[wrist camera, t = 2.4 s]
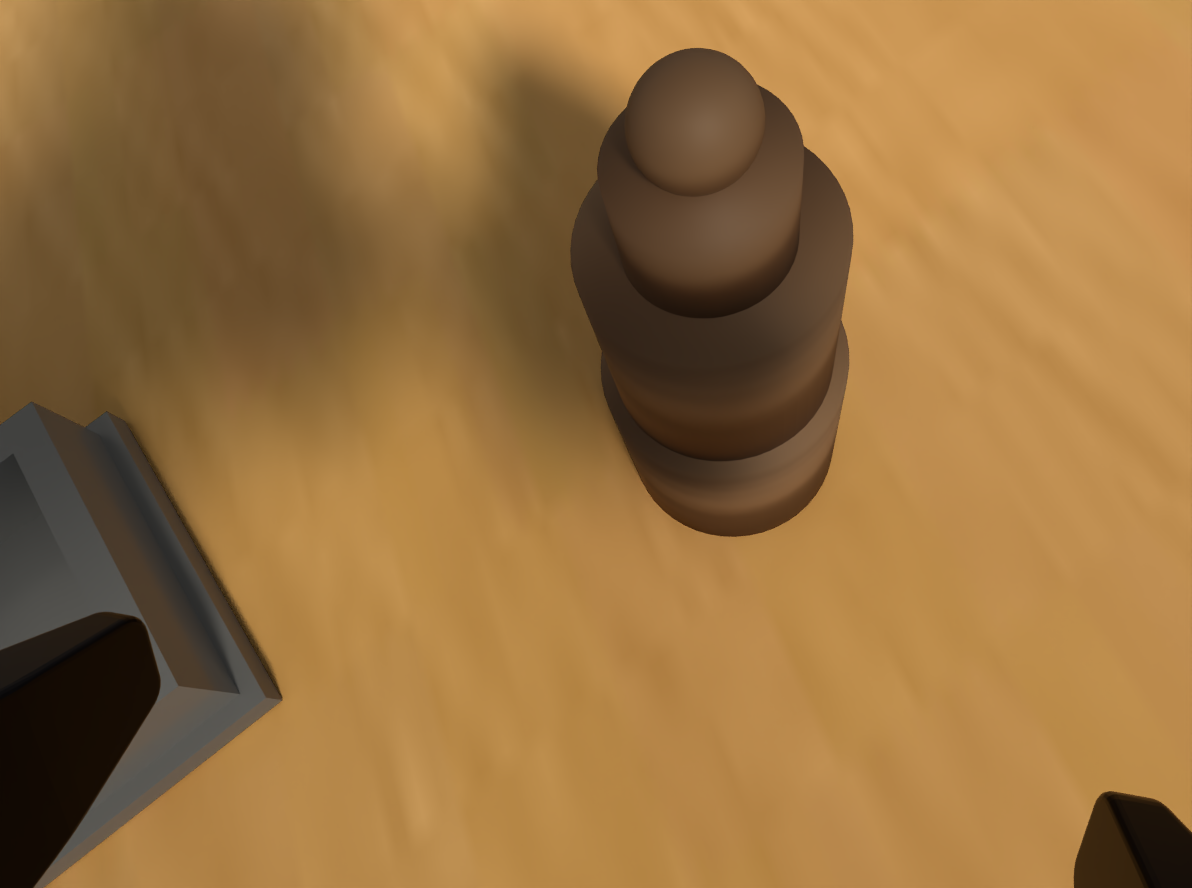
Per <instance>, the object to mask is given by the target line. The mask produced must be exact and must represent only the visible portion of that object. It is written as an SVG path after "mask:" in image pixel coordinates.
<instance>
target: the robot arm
mask: <svg viewBox="0 0 1192 888" xmlns="http://www.w3.org/2000/svg"><path fill="white" fill-rule="evenodd" d="M160 687H161V678H160V673H159V670H158V666H157V662H156V659H155V655H154V652H153V648H152V645H151V641H150V637H149V634H148V630H147V628H146V625H145V624H144V623H143V622H142V620H141V619H139V618H137V617H135V616H131V615H125V614H119V613H114V612H98V613H95V614H92V615H89V616H87V617H84V618H82V619H79V620H76V621H74V622H71V623H69V624H66V625H63V626H61V627H58V628H56V629H53V630H51V631H48V632H45V633H43V634H40V635H38V636H35V637H32V638H30V639H27V640H25V641H22V642H19V643H17V644H14V645H12V646H9V647H7V648H4V649H1V650H0V888H34V887H35V886H36V884H37V883H38V882H39V880H40V879H41V878H42V876H43V875H44V874H45V872H46V871H47V870H48V868H49V867H50V866H51V864H52V863H53V862H54V860H55V859H56V858H57V856H58V855H59V853H60V852H61V851H62V849H63V848H64V846H65V845H66V844H67V842H68V841H69V840H70V838H71V837H72V835H73V834H74V832H75V831H76V829H77V828H78V826H79V825H80V823H81V822H82V820H83V818H84V817H85V815H86V814H87V812H88V811H89V809H90V807H91V806H92V804H93V803H94V801H95V799H96V798H97V796H98V795H99V793H100V791H101V790H102V788H103V787H104V785H105V783H106V782H107V780H108V779H109V777H110V775H111V774H112V772H113V771H114V769H115V767H116V766H117V764H118V763H119V761H120V759H121V758H122V756H123V754H124V753H125V751H126V750H127V748H128V746H129V745H130V743H131V742H132V740H133V738H134V737H135V735H136V734H137V732H138V730H139V729H140V727H141V726H142V724H143V722H144V721H145V719H146V718H147V716H148V714H149V713H150V711H151V710H152V708H153V706H154V705H155V703H156V701H157V698H158V696H159V692H160ZM1074 888H1192V832H1191V831H1190V830H1189V829H1188V828H1187V827H1186V826H1185V825H1184V824H1183V823H1182V822H1181V821H1180V820H1179V819H1178V818H1177V817H1176V816H1175V815H1174V813H1173V812H1172V811H1171V810H1170V809H1169V808H1167V807H1166V806H1165V805H1164V804H1162V803H1161V802H1159V801H1157V800H1155V799H1152V798H1147V797H1141V796H1135V795H1130V794H1124V793H1119V792H1113V791H1109V792H1104V793H1102V794H1101V795H1100V796H1099V797H1098V799H1097V800H1096V803H1095V805H1094V808H1093V811H1092V814H1091V817H1090V819H1089V822H1088V825H1087V828H1086V831H1085V834H1084V837H1083V840H1082V843H1081V846H1080V849H1079V852H1078V855H1077V858H1076V862H1075V868H1074Z"/></svg>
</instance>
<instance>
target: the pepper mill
mask: <svg viewBox="0 0 1192 888" xmlns="http://www.w3.org/2000/svg"><path fill="white" fill-rule="evenodd" d="M597 173H598V180H597V181H596V183H595V184H594V185H593V187H592V188H591V189H590V191H589V192H588V194H587V196H586V198H585V200H584V202H583V203H582V205H581V208H580V210H579V213H578V215H577V218H576V221H575V225H574V229H573V233H572V240H571V267H572V272H573V277H574V282H575V285H576V287H577V290H578V293H579V295H580V298H581V300H582V303H583V305H584V308H585V310H586V313H587V315H588V318H589V320H590V323H591V325H592V327H593V330H594V332H595V335H596V337H597V340H598V342H599V345H600V347H601V350H602V359H601V376H602V385H603V389H604V394H605V397H606V400H607V403H608V406H609V408H610V411H611V413H612V415H613V417H614V420H615V422H616V424H617V426H618V429H619V431H620V433H621V435H622V437H623V440H624V442H625V444H626V446H627V449H628V451H629V453H630V455H631V457H632V460H633V462H634V464H635V466H636V469H637V471H638V473H639V475H640V477H641V480H642V482H643V484H644V485H645V487H646V489H647V491H648V493H649V494H650V495H651V497H652V498H653V499H654V501H655V502H656V503H657V504H658V505H659V506H660V507H661V508H662V509H663V510H664V511H665V512H666V513H667V514H669V515H670V516H671V517H672V518H674V519H675V520H677V521H678V522H680V523H682V524H683V525H685V526H688V527H690V528H692V529H694V530H697V531H700V532H704V533H707V534H711V535H718V536H731V537H737V536H747V535H753V534H757V533H762V532H765V531H767V530H770V529H773V528H775V527H777V526H779V525H781V524H783V523H785V522H787V521H788V520H790V519H791V518H793V517H794V516H795V515H797V514H798V513H799V512H800V511H801V510H803V509H804V508H805V507H806V506H807V505H808V504H809V503H810V501H811V500H812V499H813V498H814V496H815V495H816V494H817V492H818V491H819V489H820V487H821V486H822V484H823V482H824V479H825V477H826V475H827V473H828V469H829V466H830V462H831V458H832V453H833V448H834V443H835V438H836V433H837V428H838V423H839V418H840V413H841V409H842V404H843V399H844V394H845V389H846V384H847V378H848V370H849V348H848V342H847V336H846V333H845V330H844V327H843V324H842V321H841V317H842V311H843V305H844V299H845V292H846V286H847V280H848V274H849V268H850V261H851V255H852V247H853V223H852V218H851V212H850V208H849V205H848V202H847V199H846V197H845V194H844V192H843V190H842V188H841V186H840V184H839V183H838V181H837V179H836V178H835V176H834V175H833V174H832V172H831V171H830V170H829V168H828V167H827V166H826V165H825V164H824V163H823V162H822V161H821V160H820V159H819V158H818V157H817V156H816V155H815V154H814V153H812V152H811V151H810V150H808V149H807V148H806V147H804V145H803V139H802V135H801V132H800V129H799V126H798V124H797V122H796V120H795V118H794V116H793V114H792V113H791V112H790V110H789V109H788V108H787V106H786V105H785V104H784V103H783V102H782V101H781V100H780V99H779V98H777V97H776V96H775V95H773V94H772V93H771V92H769V91H768V90H766V89H764V88H762V87H761V86H759V85H757V84H756V82H755V80H754V79H753V77H752V76H751V74H750V73H749V72H748V71H747V70H746V69H745V68H744V67H743V66H742V65H741V64H740V63H739V62H737V61H736V60H735V59H733V58H731V57H730V56H728V55H726V54H724V53H721V52H719V51H715V50H711V49H704V48H690V49H684V50H680V51H677V52H674V53H671V54H669V55H667V56H665V57H663V58H661V59H660V60H658V61H657V62H655V63H654V64H653V65H652V66H651V67H650V68H649V69H648V70H647V71H646V72H645V73H644V74H643V75H642V76H641V78H640V79H639V80H638V82H637V84H636V85H635V87H634V89H633V91H632V93H631V96H630V98H629V101H628V105H627V107H626V108H625V109H624V111H623V112H622V113H621V114H620V115H619V116H618V117H617V118H616V120H615V121H614V122H613V124H612V125H611V127H610V128H609V130H608V132H607V134H606V136H605V138H604V140H603V143H602V145H601V148H600V153H599V157H598V166H597Z"/></svg>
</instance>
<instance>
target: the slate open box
mask: <svg viewBox="0 0 1192 888" xmlns="http://www.w3.org/2000/svg"><path fill="white" fill-rule="evenodd" d="M98 612H114V613H119V614H125V615H131V616H135V617H137V618H139V619H141V620H142V622H143V623H144V624H145V625H146V628H147V630H148V634H149V637H150V641H151V645H152V648H153V652H154V655H155V659H156V662H157V666H158V670H159V673H160V678H161V687H160V692H159V696H158V698H157V701H156V703H155V705H154V706H153V708H152V710H151V711H150V713H149V714H148V716H147V718H146V719H145V721H144V722H143V724H142V726H141V727H140V729H139V730H138V732H137V734H136V735H135V737H134V738H133V740H132V742H131V743H130V745H129V746H128V748H127V750H126V751H125V753H124V754H123V756H122V758H121V759H120V761H119V763H118V764H117V766H116V767H115V769H114V771H113V772H112V774H111V775H110V777H109V779H108V780H107V782H106V783H105V785H104V787H103V788H102V790H101V791H100V793H99V795H98V796H97V798H96V799H95V801H94V803H93V804H92V806H91V807H90V809H89V811H88V812H87V814H86V815H85V817H84V818H83V820H82V822H81V823H80V825H79V826H78V828H77V829H76V831H75V832H74V834H73V835H72V837H71V838H70V840H69V841H68V842H67V844H66V845H65V846H64V848H63V849H62V851H61V852H60V853H59V855H58V856H57V858H56V859H55V860H54V862H53V863H52V864H51V866H50V867H49V868H48V870H47V871H46V872H45V874H44V875H43V876H42V878H41V879H40V880H39V882H38V883H37V884H36V886H35V887H34V888H44V887H45V886H46V885H48V884H49V883H50V882H51V881H53V880H54V879H55V878H57V877H58V876H59V875H60V874H62V873H63V872H64V871H65V870H67V869H68V868H69V867H71V866H72V865H73V864H74V863H76V862H77V861H78V860H79V859H81V858H82V857H83V856H85V855H86V854H87V853H88V852H90V851H91V850H92V849H93V848H95V847H96V846H97V845H99V844H100V843H101V842H102V841H104V840H105V839H106V838H107V837H109V836H110V835H111V834H113V833H114V832H115V831H116V830H118V829H119V828H120V827H121V826H123V825H124V824H125V823H127V822H128V821H129V820H130V819H132V818H133V817H134V816H135V815H137V814H138V813H139V812H141V811H142V810H143V809H144V808H146V807H147V806H148V805H149V804H151V803H152V802H153V801H155V800H156V799H157V798H158V797H160V796H161V795H162V794H164V793H165V792H166V791H167V790H169V789H170V788H171V787H172V786H174V785H175V784H176V783H178V782H179V781H180V780H181V779H183V778H184V777H185V776H186V775H188V774H189V773H190V772H192V771H193V770H194V769H195V768H197V767H198V766H199V765H200V764H202V763H203V762H204V761H206V760H207V759H208V758H209V757H211V756H212V755H213V754H214V753H216V752H217V751H218V750H220V749H221V748H222V747H223V746H225V745H226V744H227V743H228V742H230V741H231V740H232V739H234V738H235V737H236V736H237V735H239V734H240V733H241V732H242V731H244V730H245V729H246V728H248V727H249V726H250V725H251V724H253V723H254V722H255V721H256V720H258V719H259V718H260V717H262V716H263V715H264V714H265V713H267V712H268V711H269V710H271V709H272V708H273V707H274V706H276V705H277V704H278V703H279V702H281V701H282V698H281V697H280V695H279V693H278V691H277V689H276V688H275V686H274V684H273V682H272V681H271V679H270V677H269V675H268V673H267V672H266V670H265V668H264V666H263V665H262V663H261V661H260V659H259V658H258V656H257V654H256V652H255V650H254V649H253V647H252V645H251V643H250V642H249V640H248V638H247V636H246V635H245V633H244V631H243V629H242V627H241V626H240V624H239V622H238V620H237V619H236V617H235V615H234V613H233V611H232V610H231V608H230V606H229V604H228V603H227V601H226V599H225V597H224V596H223V594H222V592H221V590H220V588H219V587H218V585H217V583H216V581H215V580H214V578H213V576H212V574H211V572H210V571H209V569H208V567H207V565H206V564H205V562H204V560H203V558H202V557H201V555H200V553H199V551H198V549H197V548H196V546H195V544H194V542H193V541H192V539H191V537H190V535H189V533H188V532H187V530H186V528H185V526H184V525H183V523H182V521H181V519H180V518H179V516H178V514H177V512H176V510H175V509H174V507H173V505H172V503H171V502H170V500H169V498H168V496H167V494H166V493H165V491H164V489H163V487H162V486H161V484H160V482H159V480H158V479H157V477H156V475H155V473H154V471H153V470H152V468H151V466H150V464H149V463H148V461H147V459H146V457H145V456H144V454H143V452H142V450H141V448H140V447H139V445H138V443H137V441H136V440H135V438H134V436H133V434H132V432H131V431H130V429H129V427H128V425H127V424H126V422H125V421H124V420H122V419H120V418H118V417H116V416H114V415H112V414H111V413H109V412H107V411H106V412H105V413H104V414H102V415H101V416H100V417H98V418H97V419H96V420H94V421H93V422H92V423H90V424H89V425H88V426H86V427H83V426H81V425H78V424H76V423H74V422H72V421H70V420H68V419H66V418H64V417H62V416H60V415H58V414H56V413H54V412H52V411H50V410H48V409H46V408H44V407H42V406H40V405H38V404H36V403H34V402H30V403H29V404H28V405H26V406H25V407H24V408H22V409H21V410H20V411H18V412H17V413H16V414H14V415H13V416H12V417H10V418H9V419H7V420H6V421H5V422H3V423H2V424H1V425H0V650H1V649H4V648H7V647H9V646H12V645H14V644H17V643H19V642H22V641H25V640H27V639H30V638H32V637H35V636H38V635H40V634H43V633H45V632H48V631H51V630H53V629H56V628H58V627H61V626H63V625H66V624H69V623H71V622H74V621H76V620H79V619H82V618H84V617H87V616H89V615H92V614H95V613H98Z"/></svg>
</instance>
